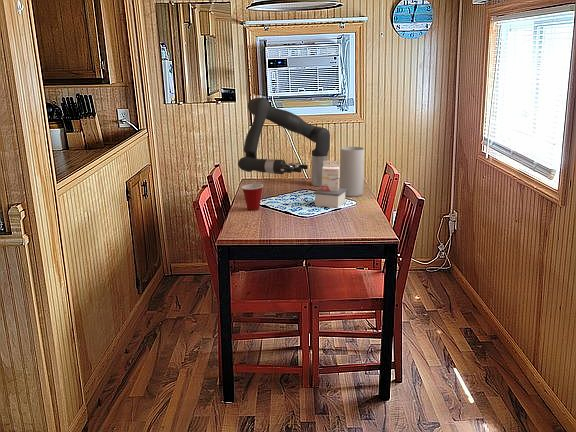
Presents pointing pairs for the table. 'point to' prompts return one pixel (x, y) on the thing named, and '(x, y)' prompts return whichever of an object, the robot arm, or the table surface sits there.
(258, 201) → the plastic cup
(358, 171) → the cylinder vase
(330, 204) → the podium
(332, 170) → the ink cartridge box
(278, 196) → the table surface
